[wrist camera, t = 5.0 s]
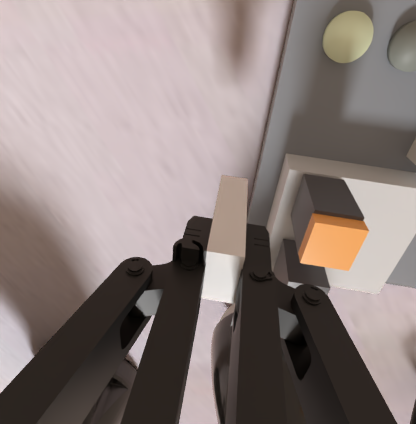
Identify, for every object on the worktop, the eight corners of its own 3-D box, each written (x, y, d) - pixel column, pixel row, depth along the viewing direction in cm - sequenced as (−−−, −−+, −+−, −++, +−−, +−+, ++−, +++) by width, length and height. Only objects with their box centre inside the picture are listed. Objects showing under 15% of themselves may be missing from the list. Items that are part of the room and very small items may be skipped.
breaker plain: (273, 269, 23) (276, 314, 19) (283, 238, 21) (288, 281, 18) (305, 275, 22) (314, 321, 19) (318, 244, 21) (330, 288, 17)
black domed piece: (257, 352, 36) (259, 538, 23) (196, 303, 32) (159, 490, 20) (337, 321, 31) (394, 532, 18) (275, 259, 28) (294, 468, 15)
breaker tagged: (289, 214, 20) (298, 265, 16) (302, 173, 18) (316, 219, 14) (328, 220, 20) (347, 273, 16) (344, 179, 18) (371, 227, 14)
